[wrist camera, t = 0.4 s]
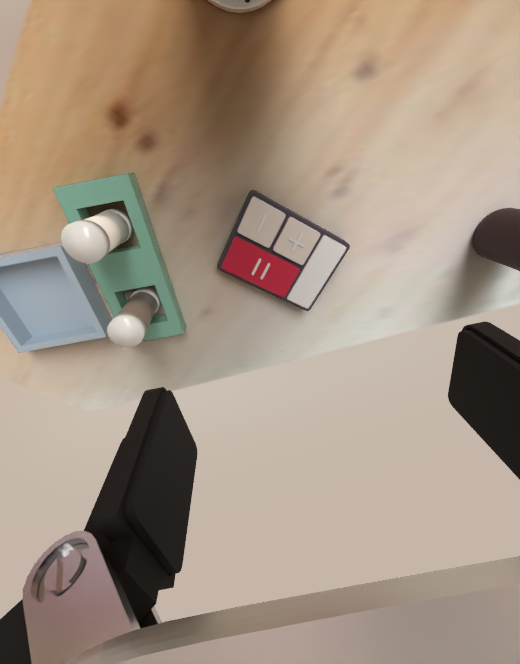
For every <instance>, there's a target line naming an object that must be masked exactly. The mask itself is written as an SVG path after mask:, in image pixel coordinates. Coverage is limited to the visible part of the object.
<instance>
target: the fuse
mask: <svg viewBox="0 0 520 664" xmlns="http://www.w3.org/2000/svg"><path fill="white" fill-rule="evenodd" d="M132 234H133V225H132V223H131V220H130V218H129V216H128V215H127V214H126V213H124V212H123V211H121V210H119V209H108V210H105V211H103V212H101V213H100V214H97V215H95V216H92V217H89V218H87V219H84V220H78V221H76V222H73V223H70V224H68V225H67V226H66V227H65V228H64V229H63V231H62V234H61V241H62V245H63V247H64V249H65V250H66V252H67V253H68V254H69V255H70V256H71V257H72V258H74V259H75V260H77V261H79V262H82V263H95V262H97V261H99V260H100V259H102V258H103V257H104V256H106V255H107V253H108V252H110V251H111V250H113V249H114V248H115V247H117V246H118V245H120V244H122V243H124V242H125V241H127V240H128V239H129V238H130V237H131V236H132Z"/></svg>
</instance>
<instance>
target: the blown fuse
mask: <svg viewBox="0 0 520 664" xmlns="http://www.w3.org/2000/svg"><path fill="white" fill-rule="evenodd" d="M160 304H161V301H160V298H159V295H158V293H157V292H156V291H154V290H153V289H151V288H148V287H141V288H138V289H136V290H135V291H134V293H133V294H132V295H131V297H130V299H129V300H128V301H127V303H126V304H125V305H124V307H123V308H122V309H121V310H120V312H119V313H118V314H117V315H116V316H115V317H114V318H113V319H112V321H111V322H110V323H109V325H108V327H107V334H108V336H109V338H110V339H111V340H112V342H114V343H115V344H117V345H119V346H121V347H126V348H130V347H135V346H137V345H138V344H140V343H141V341H142V339H143V337H144V335H145V333H146V330H147V328H148V326H149V324H150V322H151V320H152V319H153V317H154V315H155V313H156V312H157V311H158V309H159V307H160Z"/></svg>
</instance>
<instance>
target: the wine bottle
mask: <svg viewBox="0 0 520 664" xmlns="http://www.w3.org/2000/svg"><path fill="white" fill-rule="evenodd" d="M473 247H474V249H475V251H476V252H477V253H478V254H479V255H480V256H482V257H485V258H487V259H490V260H493V261H495V262H498V263H500V264H503V265H506V266H508V267H511V268H514V269H516V270H519V271H520V209H514V208H505V209H500V210H497V211H495V212H493V213H491V214H490V215H488V216H487V217H486V218H485V219H484V220H483V221H482V222H481V223H480V224H479V226H478V227H477V229H476V231H475V234H474V237H473Z"/></svg>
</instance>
